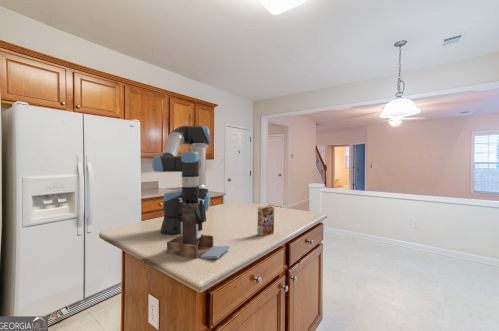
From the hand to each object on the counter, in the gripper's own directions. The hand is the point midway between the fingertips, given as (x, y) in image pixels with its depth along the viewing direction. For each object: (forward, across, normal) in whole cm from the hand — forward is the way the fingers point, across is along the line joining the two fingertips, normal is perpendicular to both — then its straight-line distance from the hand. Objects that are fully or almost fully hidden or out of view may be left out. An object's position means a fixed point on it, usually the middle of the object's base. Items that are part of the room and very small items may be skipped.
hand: (191, 236), depth 104 cm
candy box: (+7, +24, +36) cm, 44 cm away
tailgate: (+6, +8, 0) cm, 10 cm away
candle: (+4, 0, 0) cm, 4 cm away
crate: (+7, 0, 0) cm, 7 cm away
